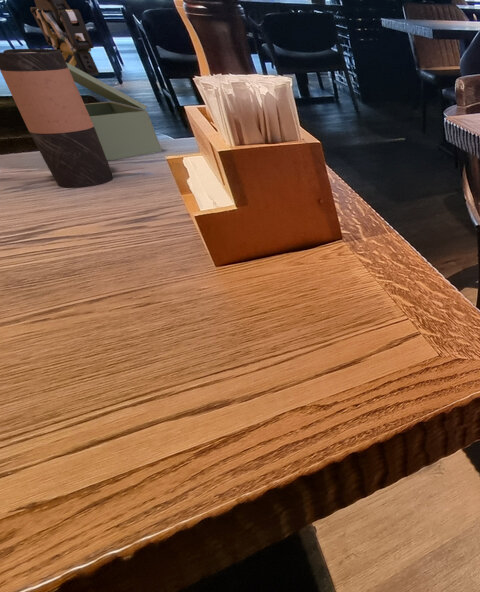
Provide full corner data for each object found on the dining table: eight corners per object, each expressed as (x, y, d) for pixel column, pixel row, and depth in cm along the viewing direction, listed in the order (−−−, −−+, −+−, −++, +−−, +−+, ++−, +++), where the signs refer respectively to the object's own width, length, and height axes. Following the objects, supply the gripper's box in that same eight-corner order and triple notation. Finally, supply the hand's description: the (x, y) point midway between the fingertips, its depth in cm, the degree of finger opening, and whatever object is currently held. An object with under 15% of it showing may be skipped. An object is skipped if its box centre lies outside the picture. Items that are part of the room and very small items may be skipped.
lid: (59, 64, 86) (76, 37, 86) (26, 56, 92) (42, 31, 93) (145, 110, 97) (159, 85, 97) (110, 100, 103) (124, 77, 104)
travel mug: (124, 180, 89) (70, 51, 79) (66, 191, 83) (0, 54, 73) (103, 172, 92) (49, 47, 82) (47, 182, 86) (-19, 49, 77)
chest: (89, 170, 92) (66, 119, 88) (57, 157, 99) (34, 108, 95) (164, 157, 101) (147, 110, 97) (130, 146, 108) (112, 101, 103)
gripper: (-14, -37, 85) (41, 73, 94) (16, -38, 79) (73, 80, 88) (45, -36, 91) (93, 68, 99) (79, -37, 84) (126, 74, 93)
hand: (83, 73), depth 93 cm, fingers closed on lid, 6 cm apart
